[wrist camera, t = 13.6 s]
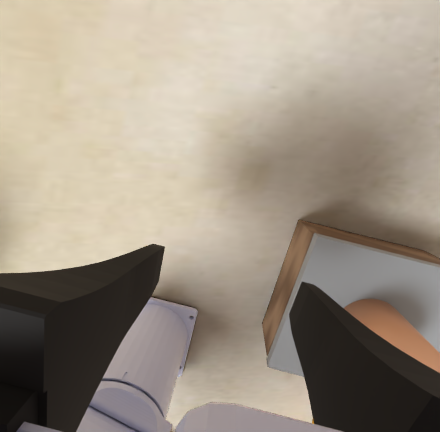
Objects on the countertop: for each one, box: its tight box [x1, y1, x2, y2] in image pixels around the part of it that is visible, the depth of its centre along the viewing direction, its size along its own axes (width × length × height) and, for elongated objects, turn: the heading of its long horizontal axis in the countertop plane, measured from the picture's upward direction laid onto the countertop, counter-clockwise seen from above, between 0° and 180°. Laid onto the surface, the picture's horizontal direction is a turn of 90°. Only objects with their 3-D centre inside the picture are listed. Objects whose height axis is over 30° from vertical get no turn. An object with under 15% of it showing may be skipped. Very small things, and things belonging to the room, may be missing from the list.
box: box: [262, 220, 440, 356], centre depth 21 cm, size 12×12×4 cm
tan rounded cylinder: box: [344, 299, 440, 373], centre depth 16 cm, size 5×5×4 cm
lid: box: [267, 233, 440, 377], centre depth 18 cm, size 12×12×1 cm
